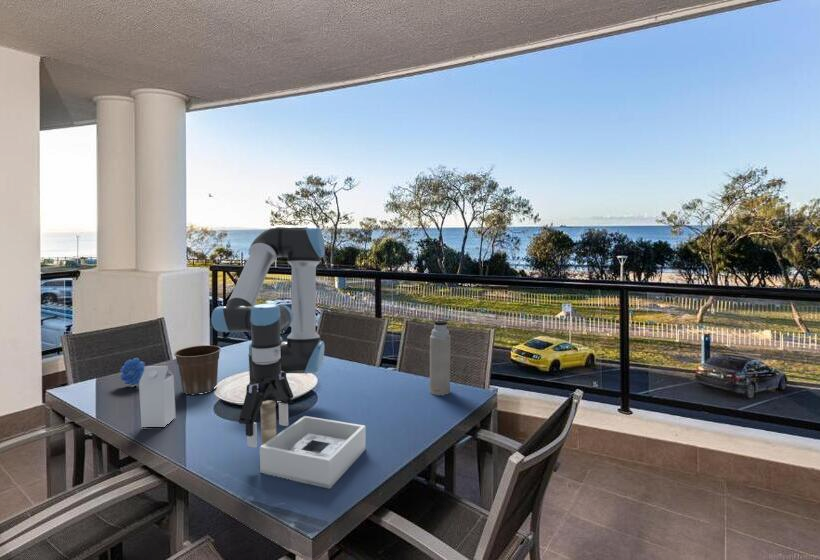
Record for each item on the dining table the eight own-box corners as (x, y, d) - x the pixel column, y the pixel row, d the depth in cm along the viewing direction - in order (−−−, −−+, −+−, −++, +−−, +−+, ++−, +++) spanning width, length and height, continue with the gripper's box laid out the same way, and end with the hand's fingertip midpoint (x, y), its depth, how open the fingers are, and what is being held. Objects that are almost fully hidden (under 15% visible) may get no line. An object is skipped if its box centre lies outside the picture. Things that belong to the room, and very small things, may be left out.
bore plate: (283, 464, 108) (283, 453, 108) (308, 443, 119) (308, 433, 119) (323, 472, 104) (323, 461, 104) (346, 450, 115) (346, 439, 115)
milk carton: (153, 419, 137) (150, 363, 136) (175, 418, 138) (173, 362, 136) (141, 429, 130) (138, 369, 129) (165, 428, 131) (162, 369, 129)
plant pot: (199, 400, 154) (197, 357, 153) (166, 395, 159) (164, 353, 158) (231, 385, 170) (229, 347, 168) (200, 381, 175) (198, 343, 173)
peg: (258, 453, 115) (257, 404, 114) (268, 446, 119) (266, 399, 118) (270, 456, 114) (269, 406, 113) (279, 449, 118) (278, 401, 117)
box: (260, 473, 106) (259, 446, 105) (304, 438, 124) (304, 415, 124) (329, 488, 99) (329, 460, 98) (365, 449, 118) (365, 425, 117)
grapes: (155, 384, 171) (153, 355, 170) (142, 389, 165) (140, 360, 164) (130, 382, 173) (128, 354, 172) (116, 388, 166) (114, 358, 165)
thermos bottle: (425, 392, 162) (426, 322, 160) (436, 386, 169) (436, 318, 166) (443, 397, 158) (444, 324, 155) (453, 391, 164) (454, 321, 162)
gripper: (246, 375, 101) (249, 459, 103) (304, 350, 125) (305, 419, 127) (221, 372, 104) (224, 454, 106) (283, 348, 127) (284, 415, 129)
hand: (268, 435), depth 116 cm, fingers open, 13 cm apart
